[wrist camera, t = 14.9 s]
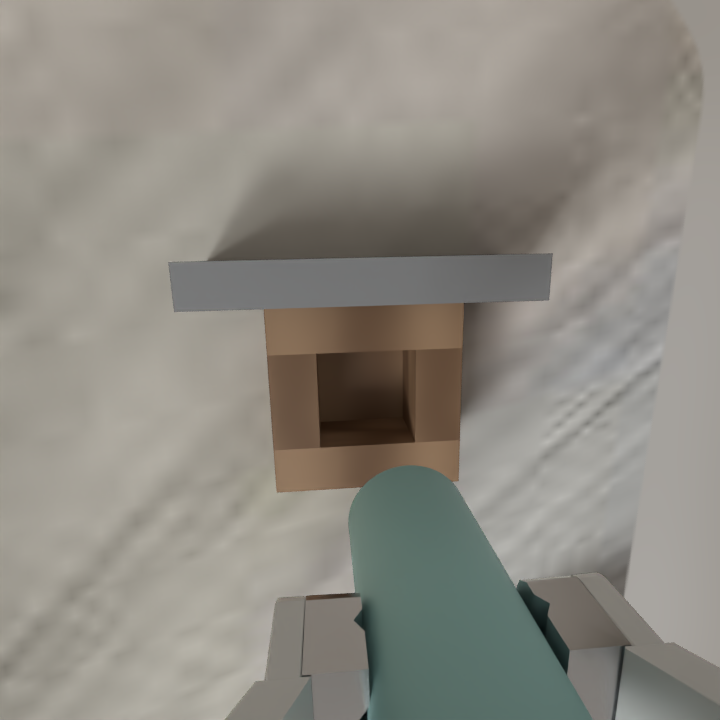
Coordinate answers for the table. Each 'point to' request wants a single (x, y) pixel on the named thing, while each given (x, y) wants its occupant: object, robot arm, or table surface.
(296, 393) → the block
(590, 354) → the table surface
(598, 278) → the table surface
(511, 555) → the table surface
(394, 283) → the backstop
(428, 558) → the dowel
